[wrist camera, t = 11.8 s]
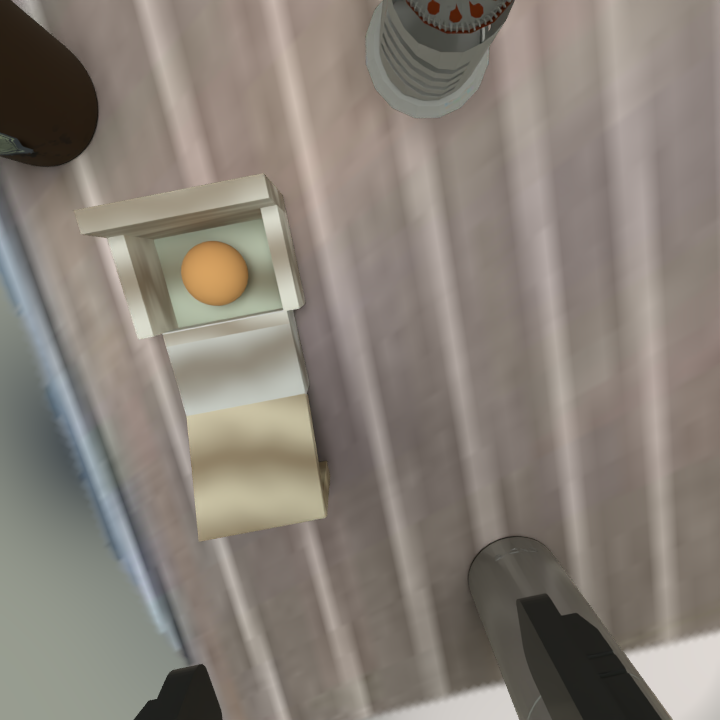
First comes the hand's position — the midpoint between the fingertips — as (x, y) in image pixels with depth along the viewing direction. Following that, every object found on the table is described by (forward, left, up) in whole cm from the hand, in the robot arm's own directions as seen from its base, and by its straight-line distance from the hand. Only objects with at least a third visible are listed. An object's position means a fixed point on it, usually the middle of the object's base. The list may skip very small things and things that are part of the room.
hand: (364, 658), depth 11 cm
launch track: (+4, +9, -28) cm, 30 cm away
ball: (+11, +9, -25) cm, 29 cm away
